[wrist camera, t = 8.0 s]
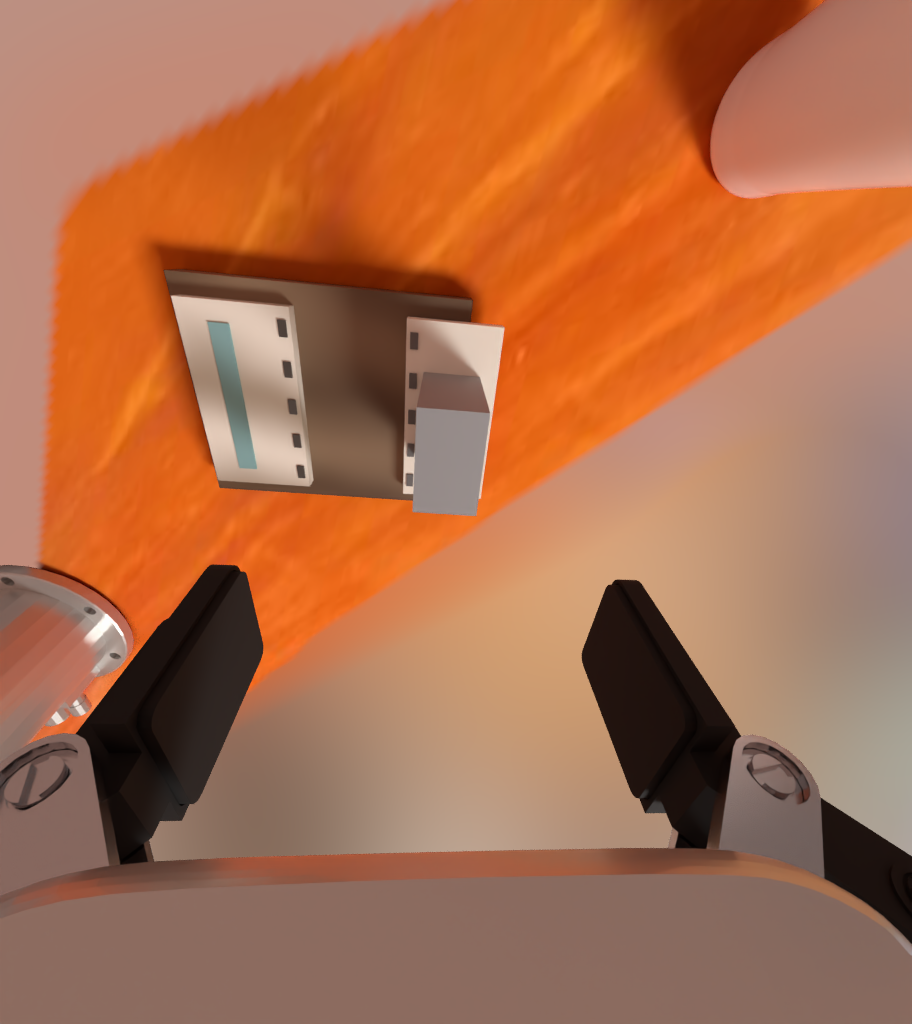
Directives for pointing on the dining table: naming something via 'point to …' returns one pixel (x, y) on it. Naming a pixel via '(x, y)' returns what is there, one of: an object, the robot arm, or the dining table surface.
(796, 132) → the drinking glass
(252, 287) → the board
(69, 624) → the robot arm
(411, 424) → the stub
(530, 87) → the dining table surface
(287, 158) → the dining table surface
